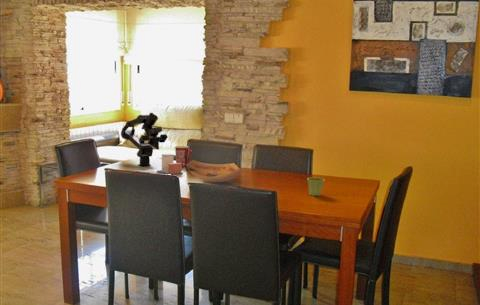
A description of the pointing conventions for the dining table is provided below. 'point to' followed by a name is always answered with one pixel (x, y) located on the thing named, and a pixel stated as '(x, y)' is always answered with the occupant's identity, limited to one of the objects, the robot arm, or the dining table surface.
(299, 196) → the dining table surface
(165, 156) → the pale beige block
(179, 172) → the housing
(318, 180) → the plant pot
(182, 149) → the mug
